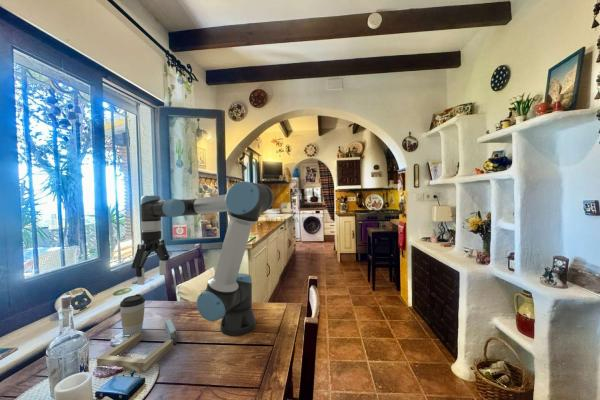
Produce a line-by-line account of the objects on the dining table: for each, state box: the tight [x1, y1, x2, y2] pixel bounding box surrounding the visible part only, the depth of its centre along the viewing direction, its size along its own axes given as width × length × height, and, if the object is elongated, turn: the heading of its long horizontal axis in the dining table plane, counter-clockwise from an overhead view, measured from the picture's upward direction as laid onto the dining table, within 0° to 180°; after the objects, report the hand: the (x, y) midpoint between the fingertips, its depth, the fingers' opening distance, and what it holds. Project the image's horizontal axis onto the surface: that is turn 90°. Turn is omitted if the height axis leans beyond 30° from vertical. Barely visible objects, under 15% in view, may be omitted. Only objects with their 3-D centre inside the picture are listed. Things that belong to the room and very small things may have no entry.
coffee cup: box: [119, 293, 146, 335], centre depth 107 cm, size 9×9×15 cm
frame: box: [96, 332, 174, 373], centre depth 91 cm, size 18×17×3 cm
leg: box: [164, 319, 177, 340], centre depth 104 cm, size 13×2×4 cm, turn 37°
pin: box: [172, 330, 177, 347], centre depth 97 cm, size 2×2×5 cm
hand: (152, 279), depth 109 cm, fingers open, 13 cm apart
